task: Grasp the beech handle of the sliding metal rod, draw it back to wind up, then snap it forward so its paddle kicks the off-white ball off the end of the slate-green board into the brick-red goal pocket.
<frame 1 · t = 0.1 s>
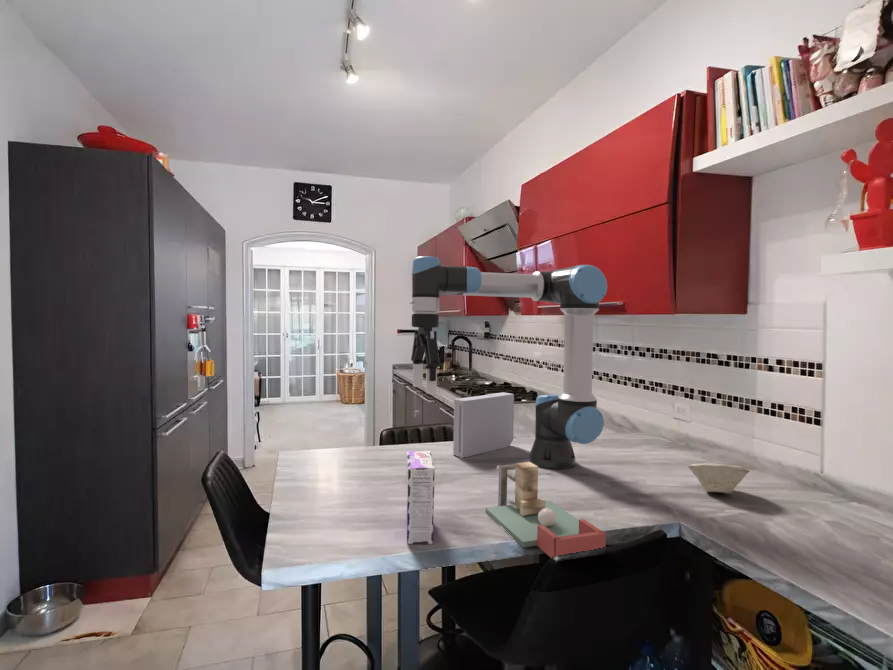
hand: (424, 389, 138), 28 cm above the breakfast bar, fingers open, 13 cm apart
pitch board: (537, 524, 116), on the breakfast bar
candy box: (419, 531, 112), on the breakfast bar
goal: (570, 549, 103), on the breakfast bar
bowl: (717, 493, 140), on the breakfast bar
game console: (483, 450, 183), on the breakfast bar
metal rectangular frame: (513, 504, 129), on the breakfast bar
ball: (547, 517, 112), point 3 cm above the breakfast bar, touching pitch board
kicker: (515, 478, 127), point 7 cm above the breakfast bar, slide at 2.0 cm
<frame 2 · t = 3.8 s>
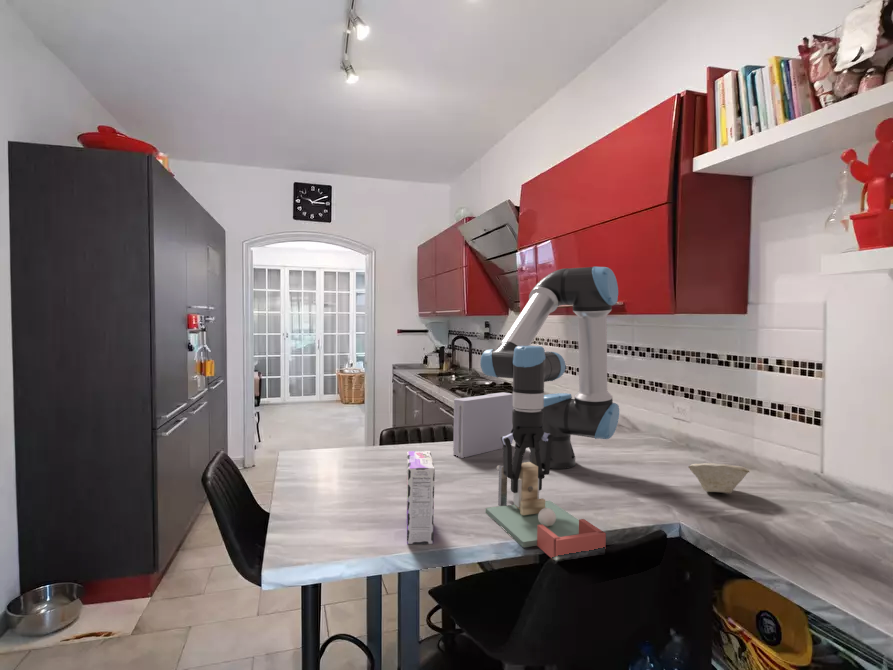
hand: (526, 504, 122), 3 cm above the breakfast bar, fingers closed on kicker, 4 cm apart
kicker: (515, 478, 127), point 7 cm above the breakfast bar, slide at 2.0 cm, touching gripper
everything else where it was.
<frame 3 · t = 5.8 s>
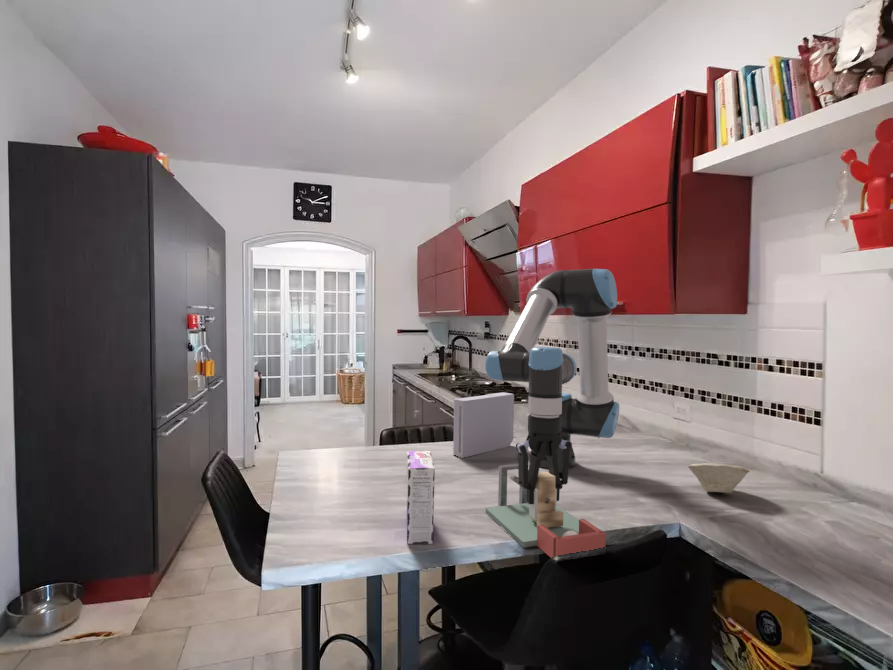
hand: (542, 515, 114), 3 cm above the breakfast bar, fingers closed on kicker, 4 cm apart
ball: (571, 540, 103), point 2 cm above the breakfast bar, tilted 91°
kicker: (530, 489, 120), point 7 cm above the breakfast bar, slide at 10.0 cm, touching gripper
everything else where it was.
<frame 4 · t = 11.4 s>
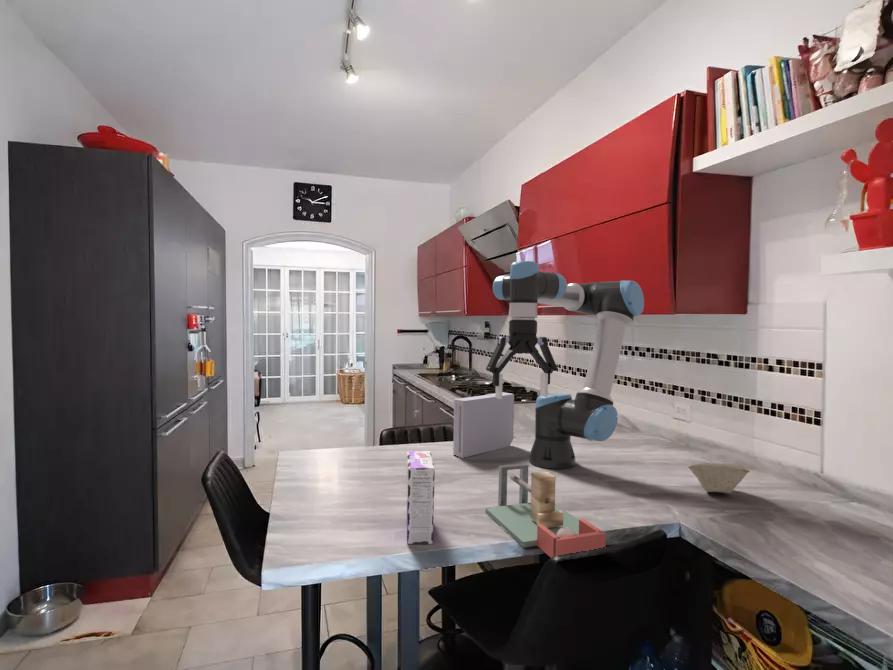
hand: (521, 397, 135), 27 cm above the breakfast bar, fingers open, 13 cm apart
ball: (566, 537, 105), point 2 cm above the breakfast bar, tilted 147°
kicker: (530, 489, 120), point 7 cm above the breakfast bar, slide at 10.0 cm
everything else where it was.
at the end: ball inside the target area (1.4 cm from its centre), point 2.0 cm above the breakfast bar; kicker slide at 10.0 cm; the gripper is holding nothing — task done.
